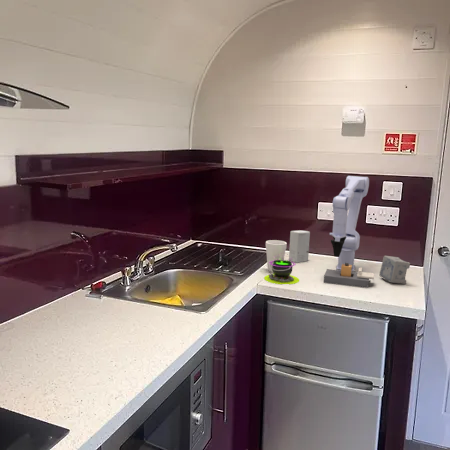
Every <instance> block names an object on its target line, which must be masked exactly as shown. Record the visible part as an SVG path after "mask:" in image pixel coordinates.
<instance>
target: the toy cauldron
mask: <svg viewBox="0 0 450 450" xmlns="http://www.w3.org/2000/svg"><path fill="white" fill-rule="evenodd" d="M280 254H281V253H280ZM283 254H285V255H283V256H284V257H286V258H287V257H288V256H289V253H286V252H285V253H283ZM286 254H287V255H286ZM278 255H279V254H278ZM275 257H276V256H275ZM273 258H274V257H273ZM290 258H291V257H290ZM272 263H273V265H272ZM269 264H270V266H271V265H272V267H271V268H272V271H273V272H272V273H271V274H267V275H265V276H264V277H263V279H264V281H266V282H267V281H268V283H270V284H274V283H275V284H274V285H282V284H289V285H295V284H299V282H300V279H299V277H298V276H297V277H296V276H294V275H292V272H293V268H294V266H296V265H297V263H296V262H293V261H290V260H289V259H284V260H281V259H280V260H277V259H276V260H273V261H271V262H269Z"/></svg>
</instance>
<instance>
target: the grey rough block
mask: <svg viewBox="0 0 450 450" xmlns="http://www.w3.org/2000/svg"><path fill="white" fill-rule="evenodd" d="M410 267H411V263H410V262H408V261H405V260H403V259H401V258H400V257H398V256H389V255H383V258H382V261H381V266H380V271H379V277H381V278H382V279H384V281H385V282H387V283H388V282H389V283H392V284H393V283H394V284H403V285H406V284H407V279H406V276H407V271H408V269H410Z"/></svg>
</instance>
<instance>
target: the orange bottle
mask: <svg viewBox="0 0 450 450" xmlns="http://www.w3.org/2000/svg"><path fill="white" fill-rule="evenodd" d="M351 270H352V265H349V263H345V264H342V266H341V270H340V271H341V276H348V277H351V272H352V271H351Z"/></svg>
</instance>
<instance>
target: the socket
mask: <svg viewBox="0 0 450 450" xmlns="http://www.w3.org/2000/svg"><path fill="white" fill-rule="evenodd" d="M357 274H358V271H357V272H356V271H351V277H348V276H341V270H338V269H332V268H331V269H330V268H326V271H325V272H324V274H323V284H324V283H325V284H334V285H341V286H349V287H355V288H356V287H358V288H359V287H360V288H366V289H368V288H369V282H370V279H368V278H360V277H357Z"/></svg>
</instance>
